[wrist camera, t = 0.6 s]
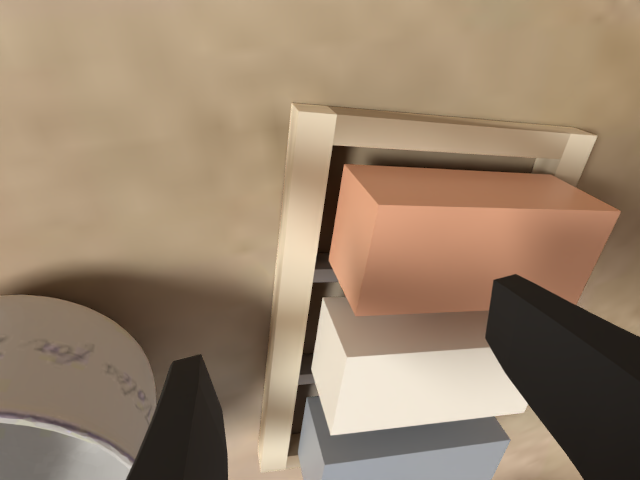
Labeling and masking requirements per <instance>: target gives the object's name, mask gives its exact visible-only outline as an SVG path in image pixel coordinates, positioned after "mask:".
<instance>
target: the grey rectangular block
mask: <svg viewBox="0 0 640 480" xmlns="http://www.w3.org/2000/svg"><path fill="white" fill-rule="evenodd" d="M509 442H510V438H509V437H508V435H507V434H506V432H505V431H504V430H503V428H502V427H501V425H500V424H499V422H498V421H497V419H496V418H495V417H494V416H492V417H483V418H475V419H467V420H458V421H450V422H441V423H433V424H424V425H416V426H407V427H399V428H390V429H382V430H374V431H365V432H357V433H348V434H340V435H330V431H329V428H328V424H327V421H326V418H325V414H324V411H323V408H322V404H321V401H320V397H319V396H315V397H307V398H306V405H305V411H304V417H303V423H302V430H301V436H300V442H299V448H298V456H299V461H300V466H301V470H302V475H303V480H491V479H492V477H493V475H494V473H495V471H496V469H497V467H498V465H499V463H500V461H501V459H502V457H503V455H504V453H505V450H506V448H507V446H508V444H509Z"/></svg>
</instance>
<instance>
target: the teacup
mask: <svg viewBox="0 0 640 480" xmlns="http://www.w3.org/2000/svg"><path fill="white" fill-rule="evenodd" d="M155 409H156V387H155V380H154V376H153V372H152V369H151V366H150V363H149V360H148V358H147V357H146V355H145V353H144V352H143V350H142V348H141V347H140V345H139V344H138V343H137V341H136V340H135V339H134V338H133V337H132V336H131V335H130V334H129V333H128V332H127V331H126V330H125V329H124V328H122V327H121V326H120V325H118V324H117V323H116V322H114V321H113V320H111V319H110V318H108V317H106V316H104V315H102V314H100V313H98V312H96V311H94V310H92V309H90V308H88V307H85V306H82V305H79V304H76V303H73V302H69V301H66V300H61V299H57V298H51V297H45V296H34V295H0V480H126V478H127V476H128V474H129V472H130V469H131V467H132V465H133V463H134V461H135V458H136V456H137V454H138V451H139V449H140V446H141V444H142V442H143V439H144V437H145V434H146V432H147V429H148V427H149V425H150V422H151V420H152V417H153V414H154V412H155Z"/></svg>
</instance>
